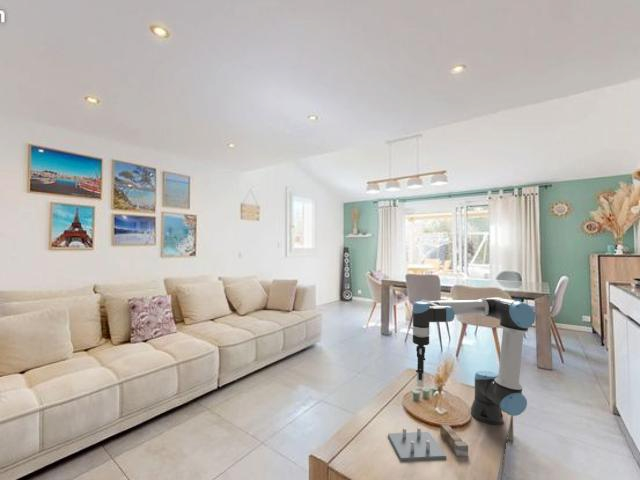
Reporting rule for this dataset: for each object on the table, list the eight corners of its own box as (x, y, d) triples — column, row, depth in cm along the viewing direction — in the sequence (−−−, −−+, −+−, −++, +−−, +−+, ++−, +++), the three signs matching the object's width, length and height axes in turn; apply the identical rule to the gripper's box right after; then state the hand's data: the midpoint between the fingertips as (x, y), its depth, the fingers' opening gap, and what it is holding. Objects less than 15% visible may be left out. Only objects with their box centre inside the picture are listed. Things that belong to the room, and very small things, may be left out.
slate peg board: (428, 434, 140) (428, 423, 140) (446, 458, 124) (446, 446, 124) (388, 435, 138) (388, 424, 138) (400, 460, 122) (401, 448, 122)
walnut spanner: (438, 433, 141) (439, 423, 141) (448, 432, 142) (448, 423, 142) (457, 456, 126) (457, 445, 126) (468, 455, 126) (468, 445, 126)
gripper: (413, 327, 152) (413, 368, 151) (411, 342, 128) (410, 390, 128) (429, 328, 149) (429, 370, 149) (429, 344, 126) (429, 393, 125)
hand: (420, 380), depth 138 cm, fingers open, 13 cm apart
